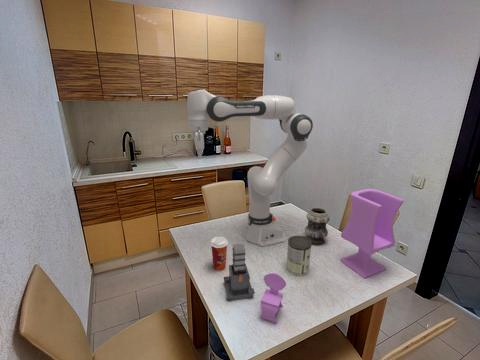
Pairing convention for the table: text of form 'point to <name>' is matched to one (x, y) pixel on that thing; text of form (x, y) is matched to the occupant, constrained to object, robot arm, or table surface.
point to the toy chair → (272, 296)
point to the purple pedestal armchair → (370, 229)
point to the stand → (238, 285)
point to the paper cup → (219, 252)
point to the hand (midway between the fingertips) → (199, 155)
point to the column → (238, 259)
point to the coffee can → (298, 255)
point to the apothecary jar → (317, 225)
